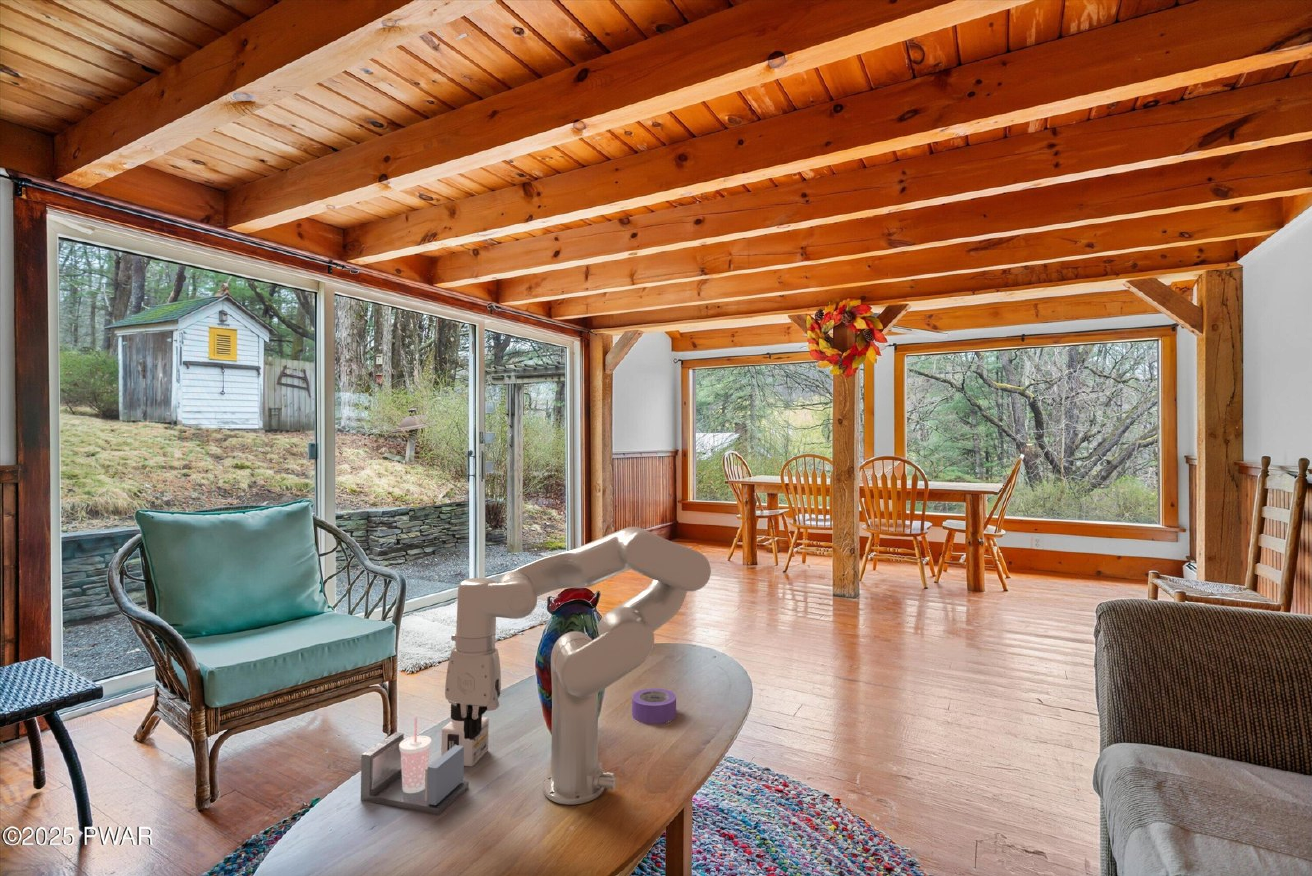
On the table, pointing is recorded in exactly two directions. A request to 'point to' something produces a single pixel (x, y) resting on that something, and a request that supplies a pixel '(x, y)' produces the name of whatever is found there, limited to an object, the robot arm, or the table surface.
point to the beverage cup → (414, 761)
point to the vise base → (396, 780)
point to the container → (455, 736)
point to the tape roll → (654, 706)
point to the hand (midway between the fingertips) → (472, 736)
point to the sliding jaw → (444, 775)
